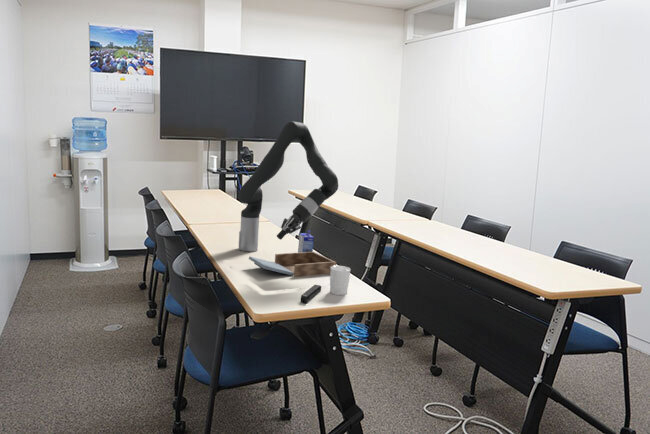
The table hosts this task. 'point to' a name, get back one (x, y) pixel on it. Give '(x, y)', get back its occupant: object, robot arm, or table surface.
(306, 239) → the ink cartridge box
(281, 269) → the blue-grey flat rectangular panel
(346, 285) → the white cup
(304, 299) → the portable electronic device stand
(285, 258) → the wooden tray
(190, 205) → the table surface
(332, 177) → the robot arm
